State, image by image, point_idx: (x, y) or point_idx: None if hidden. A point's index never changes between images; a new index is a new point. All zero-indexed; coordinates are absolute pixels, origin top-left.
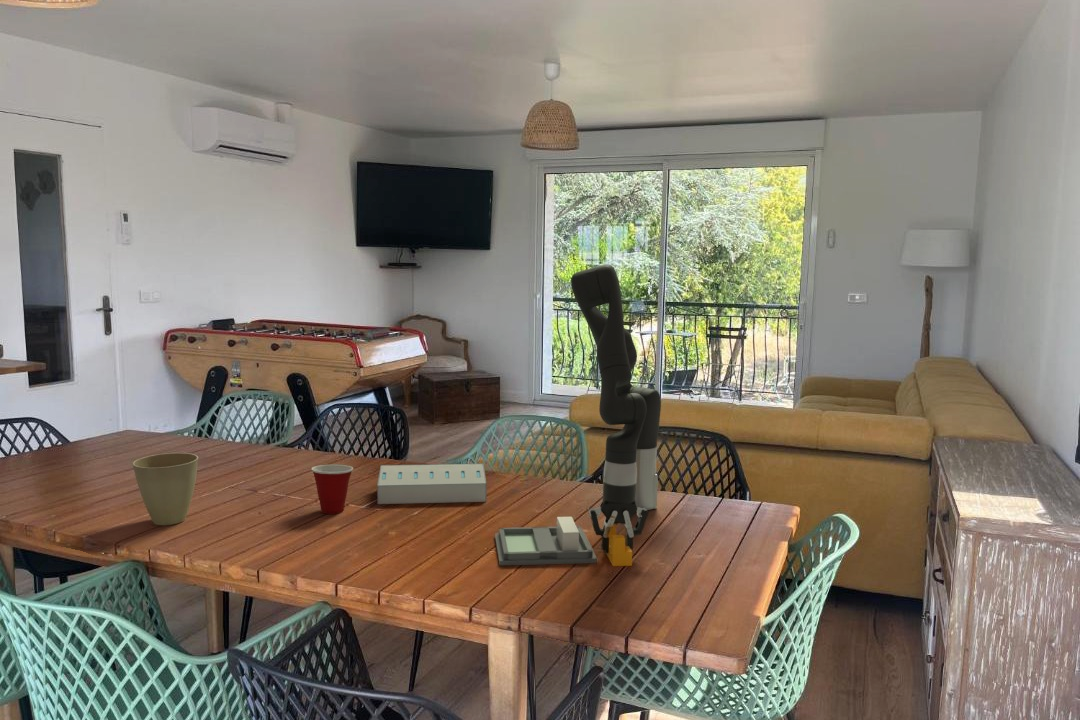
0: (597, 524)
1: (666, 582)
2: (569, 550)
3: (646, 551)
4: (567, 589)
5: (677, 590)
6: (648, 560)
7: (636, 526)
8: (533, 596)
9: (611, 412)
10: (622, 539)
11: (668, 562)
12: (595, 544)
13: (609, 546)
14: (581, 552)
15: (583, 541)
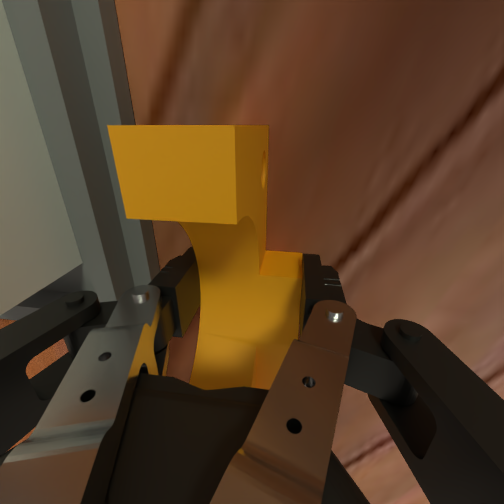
0: (38, 414)
1: (359, 461)
2: (29, 307)
3: (435, 222)
4: None
5: (366, 494)
6: (385, 322)
7: (408, 367)
8: (29, 436)
9: None
10: None
11: (466, 354)
12: (169, 81)
13: (206, 288)
14: None
15: (70, 207)
